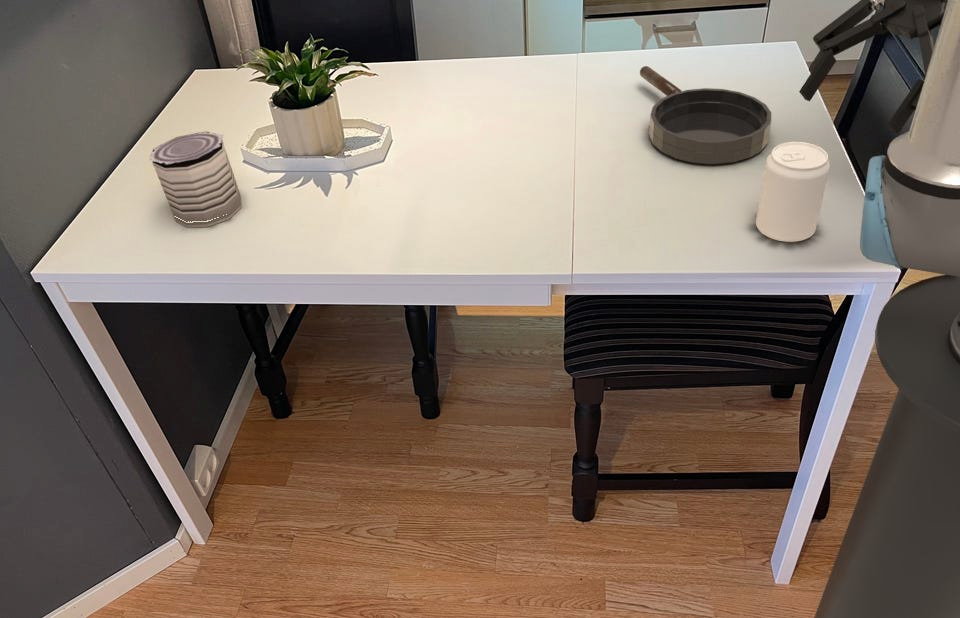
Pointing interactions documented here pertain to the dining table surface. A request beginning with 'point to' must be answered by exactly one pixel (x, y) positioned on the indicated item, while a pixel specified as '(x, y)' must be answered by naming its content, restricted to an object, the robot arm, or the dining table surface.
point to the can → (197, 179)
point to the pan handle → (658, 81)
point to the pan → (710, 126)
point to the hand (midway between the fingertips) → (846, 112)
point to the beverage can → (792, 191)
